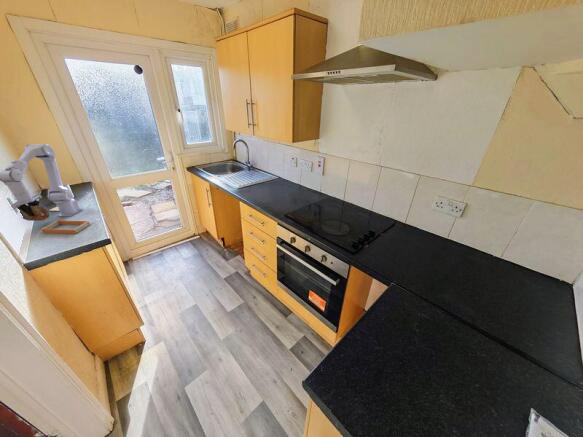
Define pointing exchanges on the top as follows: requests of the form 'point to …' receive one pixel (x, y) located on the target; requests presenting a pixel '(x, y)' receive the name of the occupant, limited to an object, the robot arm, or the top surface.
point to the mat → (55, 209)
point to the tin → (36, 214)
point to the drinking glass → (68, 188)
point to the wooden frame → (49, 229)
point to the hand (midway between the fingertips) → (34, 214)
